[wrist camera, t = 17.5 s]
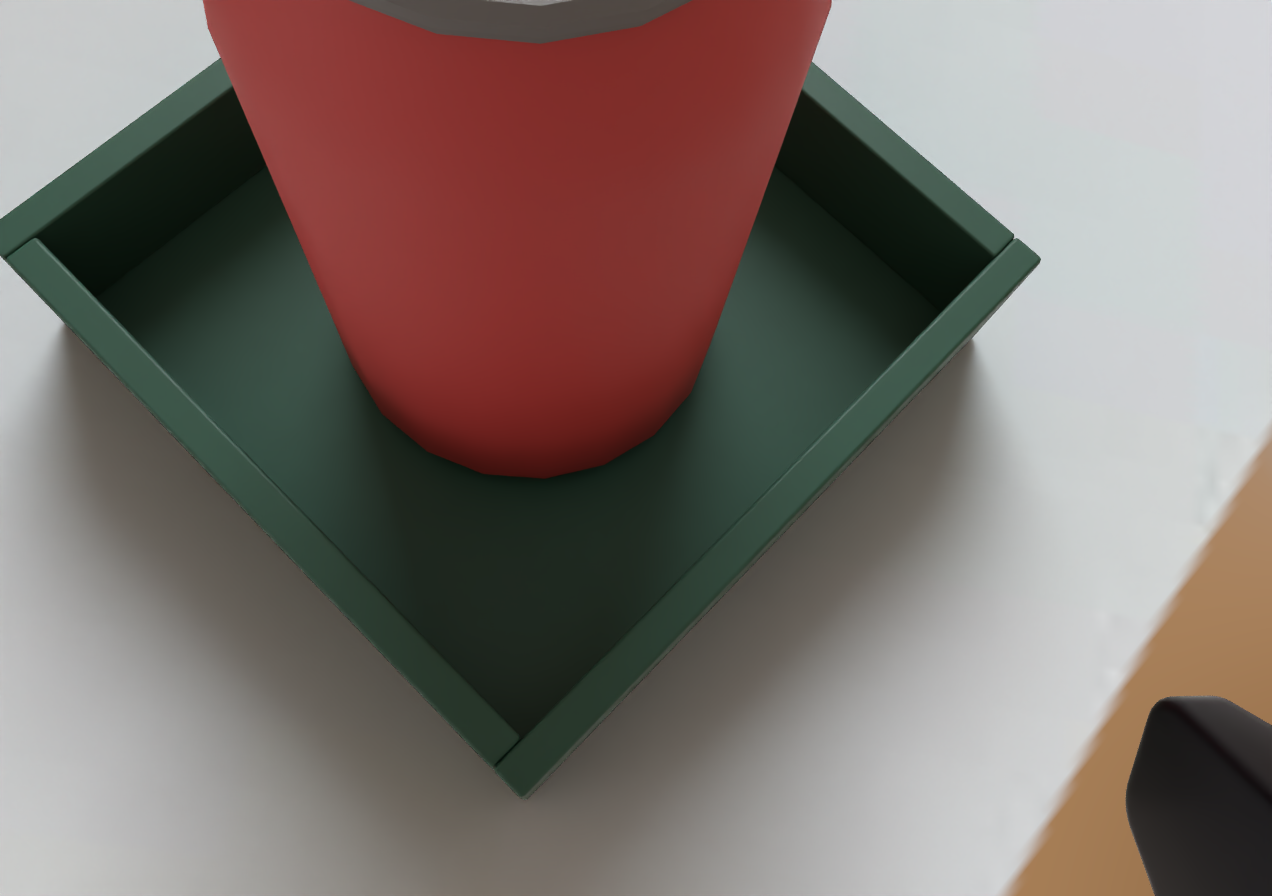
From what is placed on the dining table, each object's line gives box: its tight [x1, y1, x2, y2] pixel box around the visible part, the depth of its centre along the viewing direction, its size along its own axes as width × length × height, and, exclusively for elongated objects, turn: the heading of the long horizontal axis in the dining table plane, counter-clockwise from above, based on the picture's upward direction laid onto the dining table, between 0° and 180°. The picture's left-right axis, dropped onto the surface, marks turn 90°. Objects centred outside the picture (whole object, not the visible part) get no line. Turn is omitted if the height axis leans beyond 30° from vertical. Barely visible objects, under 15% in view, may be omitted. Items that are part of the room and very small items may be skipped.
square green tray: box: [0, 58, 1041, 800], centre depth 21 cm, size 12×12×3 cm
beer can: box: [203, 0, 832, 479], centre depth 16 cm, size 7×7×12 cm
